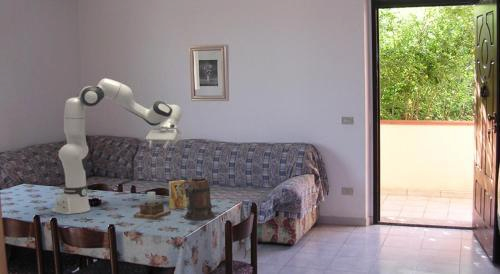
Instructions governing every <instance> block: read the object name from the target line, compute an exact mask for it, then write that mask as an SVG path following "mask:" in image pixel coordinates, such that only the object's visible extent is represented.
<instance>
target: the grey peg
mask: <svg viewBox="0 0 500 274" xmlns="http://www.w3.org/2000/svg"><path fill="white" fill-rule="evenodd" d="M156 196H157V195H156V191H147V192H146V197H147V198H146V200H147V201H146V202H147V203H148V205H155V204H156V202H157V200H156V199H157V198H156Z"/></svg>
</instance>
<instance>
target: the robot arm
mask: <svg viewBox="0 0 500 274" xmlns="http://www.w3.org/2000/svg"><path fill="white" fill-rule="evenodd" d="M103 99H108V100H111V101H113V102H115V103H117V104H119V105H120V106H122V107H123V108H124V109H125V110H126V111H128V112H130V113H132V114H133V115H135V116H137V117H139V118H141V119H143V120H144V122H146V123H147V124H148V125H150V126H154V127H155V126H156V127H157V126H159V127H158V128H153V129H151V130H150V131H149V133H148V134H147V135H146V137H145V139H146V142H147V143H148V144H149V146H148V148H149V149H153V148H154V144H163V145H162V149H164V150H166V149H167V148H168V147H169V146H170V145H171V144H172V145H173V144H177V143H178V141H179V139H180V136H181V134H182V132H181V129H180V128H179V126H177V125H178V124H179V122H180V120H181V117H182V114H183V111H182V109H181V107H180V106H179V105H177V104H167V103H165V102H164V101H160V100H159V101H158V100H157V101H155V102H154V104H153V105H151V107H150V108H146V107H144V106H142V105H141V104H139V103H136V101H135V99H134V94H133V91H132V89H131V87H129V86H128V85H126V84H123V83H121V82H119V81H116V80H113V79H111V78H102V79H101V80H100V81H99V82H98V84H97V85H96V86H92V85H87V86H84V87H83V88H82V89H81V91H79V94H78V95H77V96H76V97H70V98H68V99H66V102H65V104H64V105H65V106H64V111H63V112H64V113H63V131H64V132H63V133H64V134H65V138H66V144H64V145H63V146H62V147H61V148H60V149H59V151H58V158H59V160H60V161H61V163H62V167H63V172H64V179H65V180H64V181H65V187H62V188H61V189H62V191H63V193H62V194H61V195H59V197H58V198H57V199H56V200H55V204H54V207H53V208H52V209H50V211H51V212H53V213H58V214H60V215H61V214H62V215H72V214H82V213H86V212H89V211H91V209H92V208H91V205H90V201H89V196H88V185H87V179H86V178H87V177H86V176H87V175H86V170H85V168H84V166H83V160H84V159H85V158H86V157H87V155H88V153H89V146H88V144H87V143H88V142H87V139H86V131H85V128H86V127H85V126H86V125H85V123H86V122H85V121H86V109H87V108H88V107H95V106H98V104H100V102H101V101H102V100H103Z"/></svg>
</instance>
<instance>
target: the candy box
mask: <svg viewBox="0 0 500 274" xmlns="http://www.w3.org/2000/svg"><path fill="white" fill-rule="evenodd" d="M186 182H187V181H186V180H183V179H181V180H172V181H168V201H169V209H171V210H177V209H182V208H184V209H185V208H187V190H186V189H187V187H186V185H187V184H186Z"/></svg>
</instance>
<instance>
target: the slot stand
mask: <svg viewBox="0 0 500 274" xmlns="http://www.w3.org/2000/svg"><path fill="white" fill-rule="evenodd" d="M168 215H171V210H166V209H165V207H164V202H162V201H156V204H155V205H148V203H147V201H146V202H144V203H140V204H139V212H136V213H134V214H133V218H137V219H145V220H147V219H148V220H157V219H160V218H163V217H165V216H168Z"/></svg>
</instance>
